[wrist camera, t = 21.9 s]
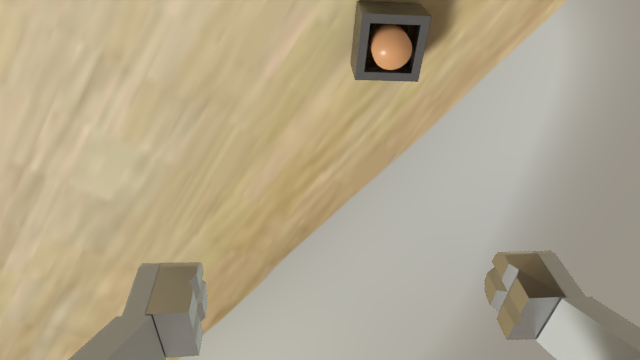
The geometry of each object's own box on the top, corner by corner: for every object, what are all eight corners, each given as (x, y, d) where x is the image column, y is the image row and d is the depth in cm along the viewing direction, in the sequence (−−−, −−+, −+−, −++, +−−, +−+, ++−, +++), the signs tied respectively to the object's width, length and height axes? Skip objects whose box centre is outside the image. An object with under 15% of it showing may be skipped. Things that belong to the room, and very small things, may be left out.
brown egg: (365, 55, 43) (370, 69, 40) (370, 18, 41) (375, 30, 38) (400, 56, 43) (408, 70, 40) (407, 20, 41) (415, 32, 38)
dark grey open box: (350, 63, 44) (354, 79, 41) (357, 1, 41) (362, 13, 37) (409, 65, 45) (418, 81, 42) (420, 3, 41) (431, 16, 38)
